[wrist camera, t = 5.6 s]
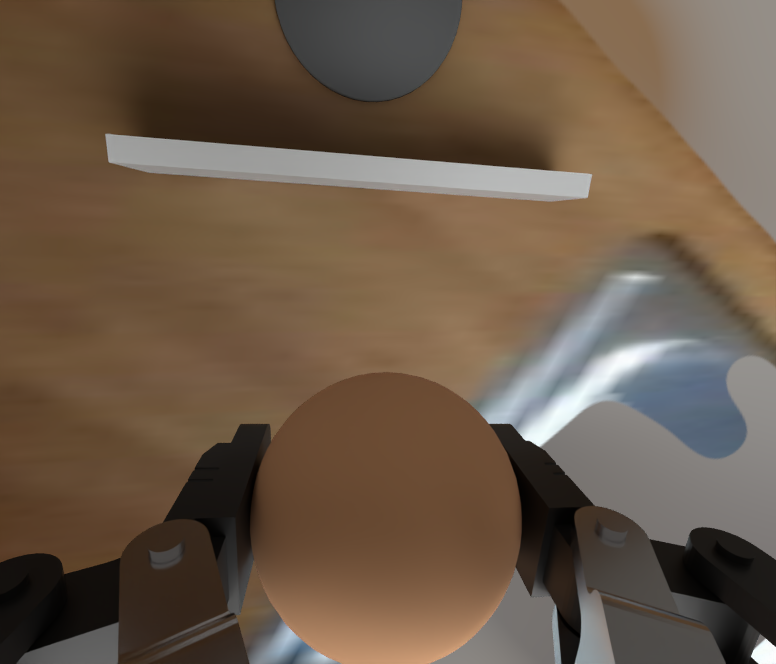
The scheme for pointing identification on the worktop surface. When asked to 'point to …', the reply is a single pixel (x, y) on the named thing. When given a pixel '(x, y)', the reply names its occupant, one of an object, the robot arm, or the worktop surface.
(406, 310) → the worktop surface
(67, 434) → the worktop surface
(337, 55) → the pad
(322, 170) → the low wall
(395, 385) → the ball
